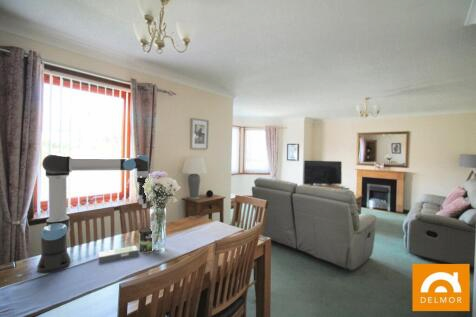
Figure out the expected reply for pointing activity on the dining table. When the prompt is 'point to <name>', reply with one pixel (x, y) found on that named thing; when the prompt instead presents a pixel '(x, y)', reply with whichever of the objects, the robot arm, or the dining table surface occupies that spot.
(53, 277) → the dining table surface
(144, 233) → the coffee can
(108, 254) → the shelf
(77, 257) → the dining table surface
